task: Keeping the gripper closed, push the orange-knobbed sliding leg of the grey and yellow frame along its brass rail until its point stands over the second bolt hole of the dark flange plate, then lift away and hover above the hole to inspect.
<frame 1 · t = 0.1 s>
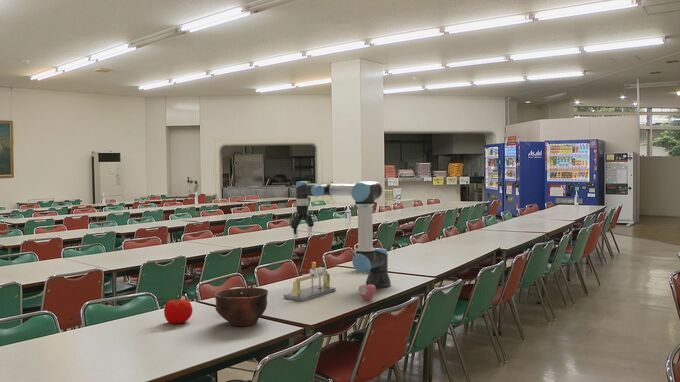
hand: (302, 237, 356), 28 cm above the table, fingers open, 13 cm apart
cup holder: (364, 269, 393), on the table
bowl: (242, 323, 260), on the table
slider leg: (314, 276, 317), point 11 cm above the table, slide at -2.0 cm
mug: (240, 308, 288), on the table
tomato: (178, 322, 263), on the table
grey and yellow frame: (310, 294, 317), on the table
apple: (367, 300, 301), on the table
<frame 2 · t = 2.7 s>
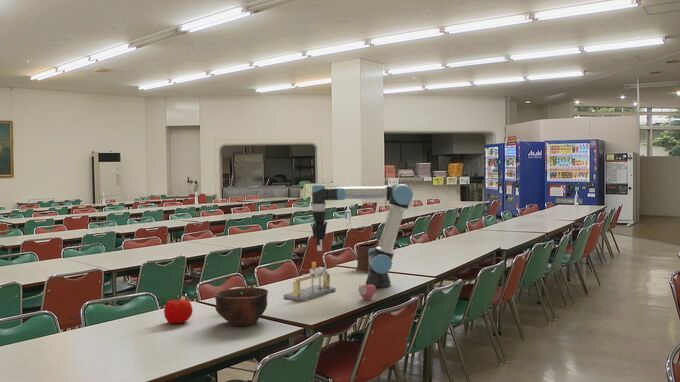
hand: (319, 250, 322), 24 cm above the table, fingers closed
nothing on the table moved.
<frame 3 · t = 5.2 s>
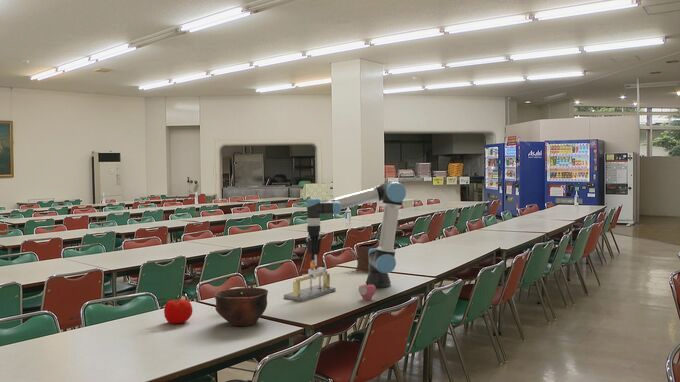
hand: (314, 265, 317), 17 cm above the table, fingers closed
slider leg: (312, 276, 316), point 11 cm above the table, slide at -0.6 cm, touching gripper
everything else where it was.
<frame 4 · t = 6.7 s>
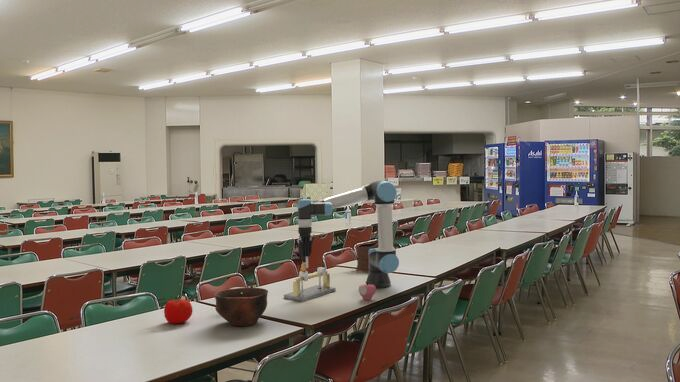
hand: (305, 267, 311), 17 cm above the table, fingers closed
slider leg: (303, 278, 309), point 11 cm above the table, slide at 7.3 cm
everything else where it was.
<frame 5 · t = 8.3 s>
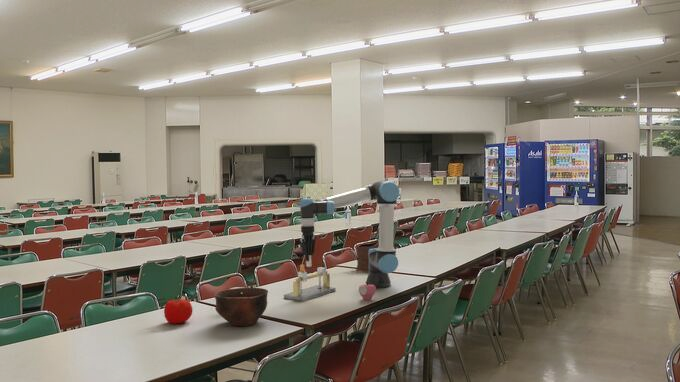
hand: (308, 266, 313), 17 cm above the table, fingers closed
slider leg: (302, 279, 308), point 11 cm above the table, slide at 8.4 cm
everything else where it was.
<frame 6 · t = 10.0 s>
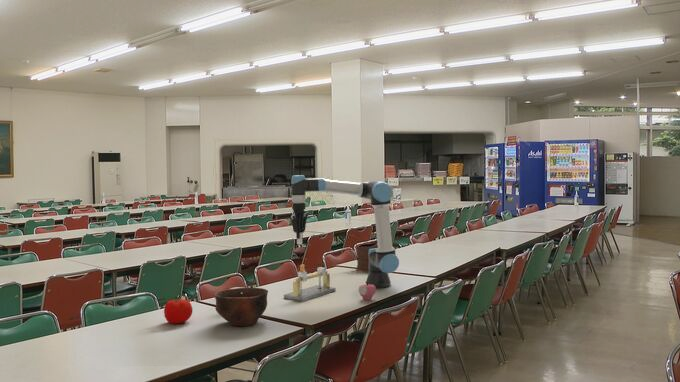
hand: (299, 244, 309), 30 cm above the table, fingers closed
nothing on the table moved.
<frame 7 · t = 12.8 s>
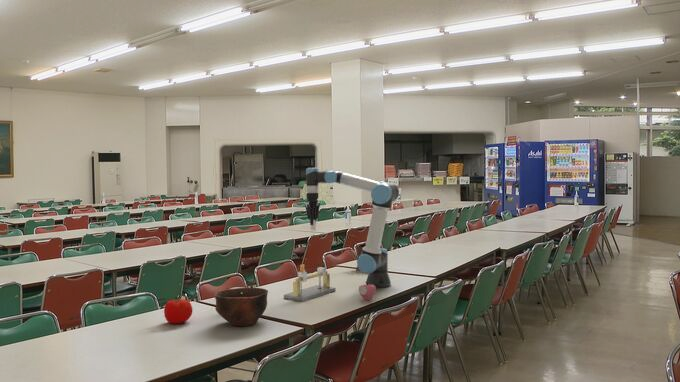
hand: (313, 230, 342), 34 cm above the table, fingers closed
nothing on the table moved.
at the end: slider leg slide at 8.4 cm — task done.
